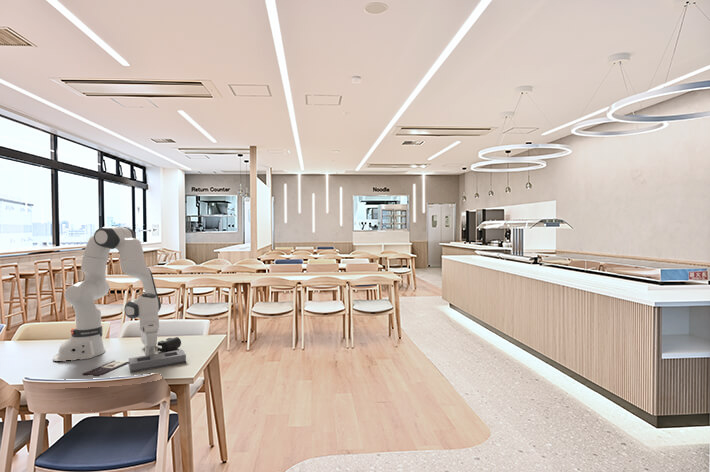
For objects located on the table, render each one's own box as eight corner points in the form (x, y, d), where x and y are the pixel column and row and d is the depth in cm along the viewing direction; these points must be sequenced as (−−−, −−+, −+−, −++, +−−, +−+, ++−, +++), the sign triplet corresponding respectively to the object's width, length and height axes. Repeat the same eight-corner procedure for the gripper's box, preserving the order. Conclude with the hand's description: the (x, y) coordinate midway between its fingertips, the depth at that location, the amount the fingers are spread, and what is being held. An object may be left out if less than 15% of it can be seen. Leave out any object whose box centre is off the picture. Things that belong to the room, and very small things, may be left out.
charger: (145, 359, 201) (145, 345, 200) (145, 357, 204) (144, 343, 204) (154, 357, 203) (154, 344, 203) (153, 355, 206) (153, 342, 206)
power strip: (130, 372, 182) (130, 364, 182) (128, 366, 190) (128, 358, 190) (186, 362, 195) (185, 354, 195) (182, 357, 204) (182, 349, 203)
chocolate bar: (82, 373, 180) (114, 360, 198) (82, 375, 180) (114, 362, 198) (98, 375, 178) (129, 361, 196) (98, 377, 178) (129, 363, 196)
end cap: (167, 355, 207) (167, 342, 207) (156, 353, 209) (156, 341, 209) (181, 349, 217) (181, 337, 217) (171, 348, 219) (170, 336, 219)
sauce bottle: (138, 347, 220) (137, 315, 219) (148, 343, 227) (147, 312, 227) (149, 348, 218) (149, 316, 218) (160, 344, 226) (159, 313, 225)
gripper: (140, 322, 210) (141, 348, 210) (144, 330, 193) (145, 358, 193) (153, 320, 213) (154, 345, 214) (159, 328, 196) (159, 356, 197)
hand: (150, 351), depth 203 cm, fingers open, 7 cm apart
